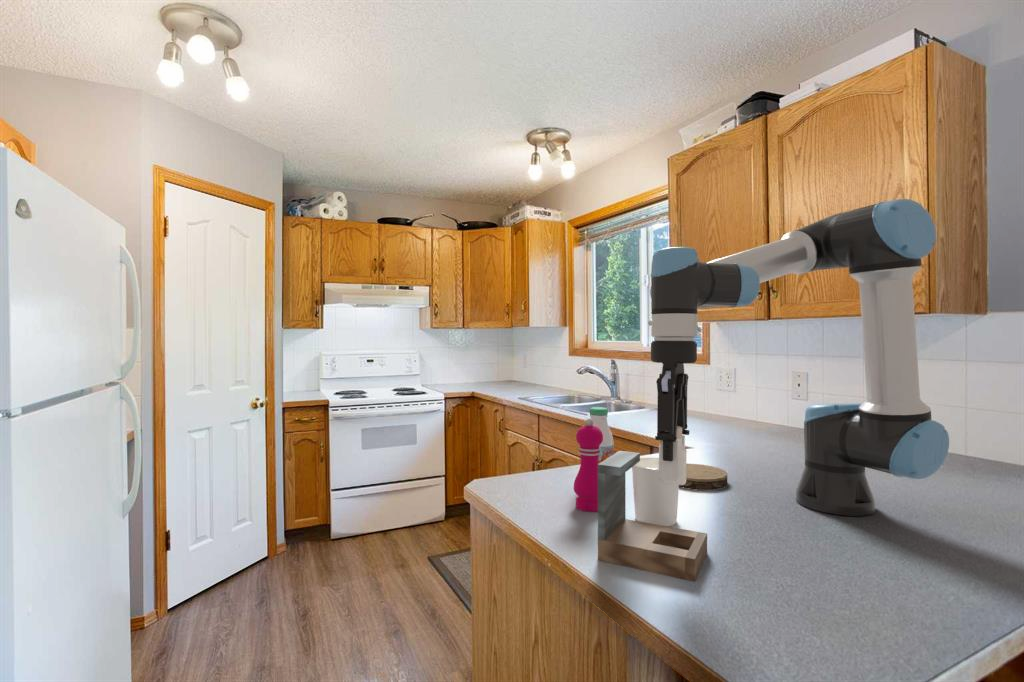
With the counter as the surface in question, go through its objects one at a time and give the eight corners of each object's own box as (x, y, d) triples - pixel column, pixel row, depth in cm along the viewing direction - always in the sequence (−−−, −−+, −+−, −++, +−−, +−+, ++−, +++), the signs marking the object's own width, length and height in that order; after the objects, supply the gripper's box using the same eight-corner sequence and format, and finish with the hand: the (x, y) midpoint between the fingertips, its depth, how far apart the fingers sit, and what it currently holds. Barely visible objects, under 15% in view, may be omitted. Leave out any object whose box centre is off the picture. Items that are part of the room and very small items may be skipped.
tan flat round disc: (663, 488, 131) (663, 476, 131) (663, 472, 146) (663, 461, 146) (731, 493, 126) (731, 481, 126) (724, 476, 141) (724, 465, 141)
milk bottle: (580, 487, 130) (580, 409, 130) (587, 479, 137) (587, 405, 137) (610, 491, 127) (610, 410, 127) (616, 482, 134) (616, 406, 134)
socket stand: (707, 553, 91) (707, 460, 91) (695, 581, 81) (695, 476, 80) (619, 536, 99) (619, 450, 99) (597, 559, 88) (597, 464, 88)
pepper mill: (605, 513, 111) (605, 421, 111) (572, 511, 113) (572, 420, 113) (606, 503, 118) (606, 416, 118) (574, 501, 120) (574, 415, 120)
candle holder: (673, 532, 101) (673, 471, 100) (625, 523, 106) (624, 465, 106) (685, 517, 109) (685, 461, 109) (640, 509, 114) (640, 455, 114)
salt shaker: (681, 479, 90) (681, 425, 90) (687, 486, 86) (687, 429, 86) (658, 478, 90) (658, 424, 90) (662, 485, 86) (662, 428, 86)
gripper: (663, 339, 97) (662, 462, 97) (637, 339, 82) (636, 485, 82) (705, 339, 94) (704, 467, 94) (686, 339, 78) (684, 492, 78)
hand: (672, 475), depth 88 cm, fingers closed on salt shaker, 5 cm apart
